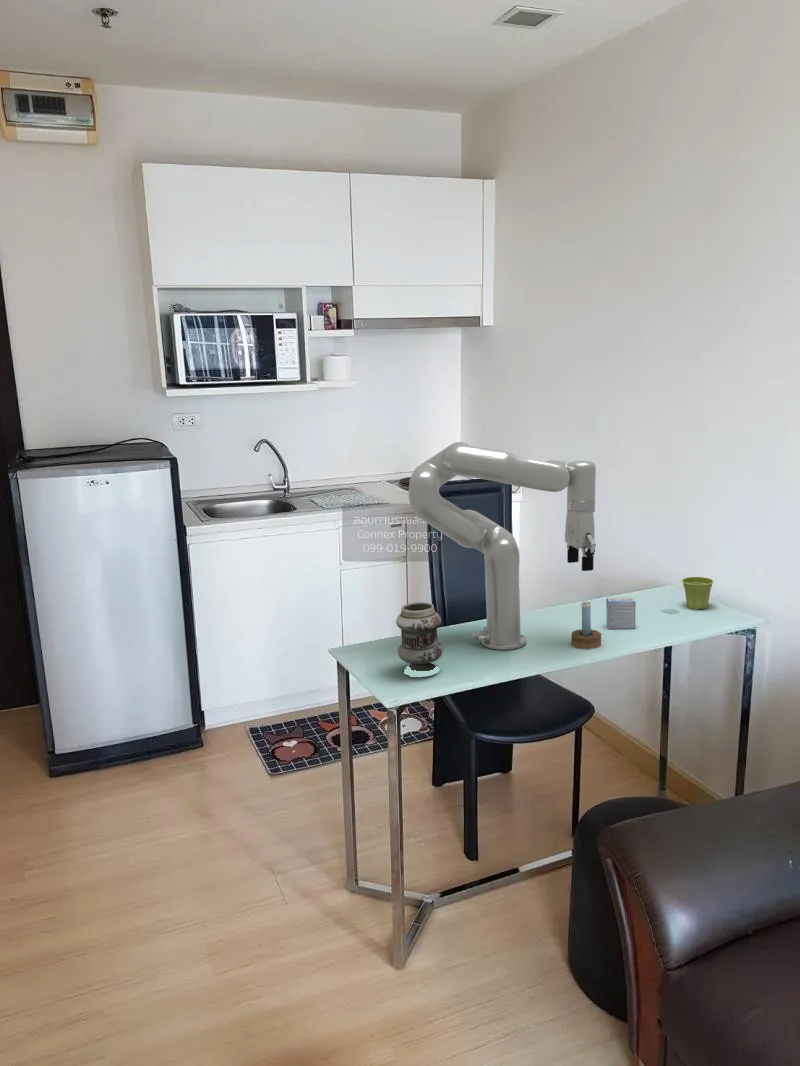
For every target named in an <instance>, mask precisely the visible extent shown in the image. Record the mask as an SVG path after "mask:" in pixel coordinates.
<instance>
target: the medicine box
mask: <svg viewBox="0 0 800 1066" xmlns="http://www.w3.org/2000/svg"><path fill="white" fill-rule="evenodd" d="M605 602H606V626H607V629H608V630H625V629H636V613H637V612H636V611H637V610H636V609H637V608H636V602H637V601H636V600H635V598H634V597H633V596H620V597H619V596H618V597H617V596H615V597H606V601H605Z"/></svg>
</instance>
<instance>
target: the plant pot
mask: <svg viewBox="0 0 800 1066" xmlns="http://www.w3.org/2000/svg"><path fill="white" fill-rule="evenodd" d="M681 583H682V585H683V587H684V593H685V599H686V601H685V602H686V606H687V608H689V609H690V608H691V610H705V609H707V608H709V607H708V605H709V602H710V595H711V590H712V589H711V588H712V587H713V584H714V579H712V578H709V577H702V576H689V577H684V578H683V579H681Z"/></svg>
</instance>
